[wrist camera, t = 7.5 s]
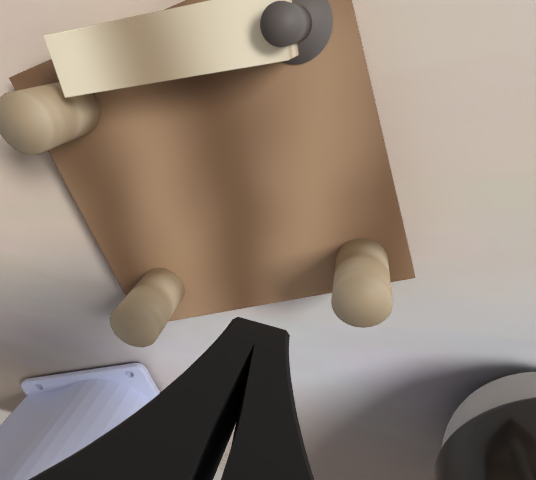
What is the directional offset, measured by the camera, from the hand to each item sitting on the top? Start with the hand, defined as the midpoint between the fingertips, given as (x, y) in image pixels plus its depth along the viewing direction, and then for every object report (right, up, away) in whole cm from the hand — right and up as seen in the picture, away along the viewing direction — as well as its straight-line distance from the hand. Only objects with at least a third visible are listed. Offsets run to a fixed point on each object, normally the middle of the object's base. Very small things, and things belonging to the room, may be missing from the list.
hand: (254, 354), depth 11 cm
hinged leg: (-2, +10, +5) cm, 12 cm away
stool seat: (-2, +6, +9) cm, 11 cm away
